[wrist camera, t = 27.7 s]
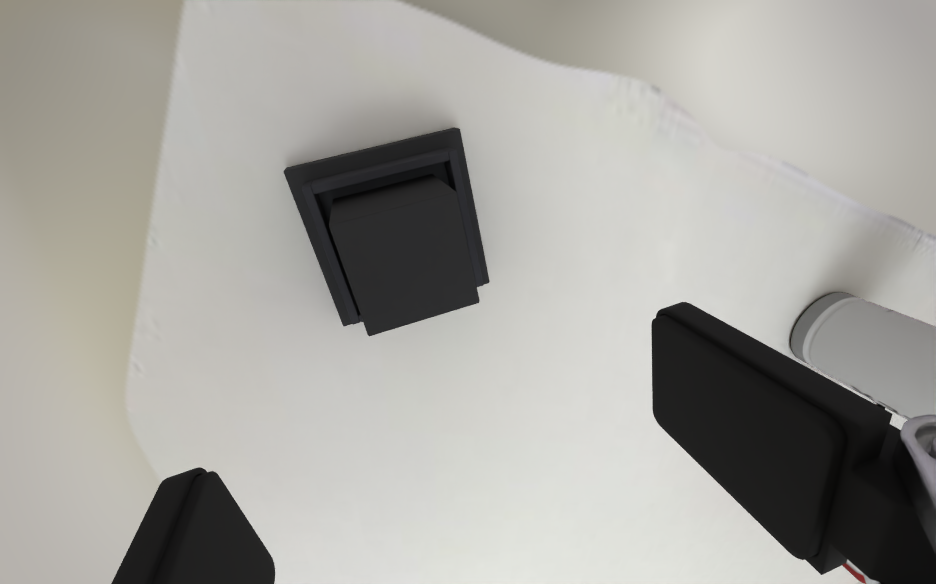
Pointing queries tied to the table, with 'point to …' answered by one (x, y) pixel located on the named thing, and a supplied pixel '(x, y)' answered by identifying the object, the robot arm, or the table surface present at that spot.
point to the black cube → (404, 252)
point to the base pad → (373, 170)
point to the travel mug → (871, 351)
